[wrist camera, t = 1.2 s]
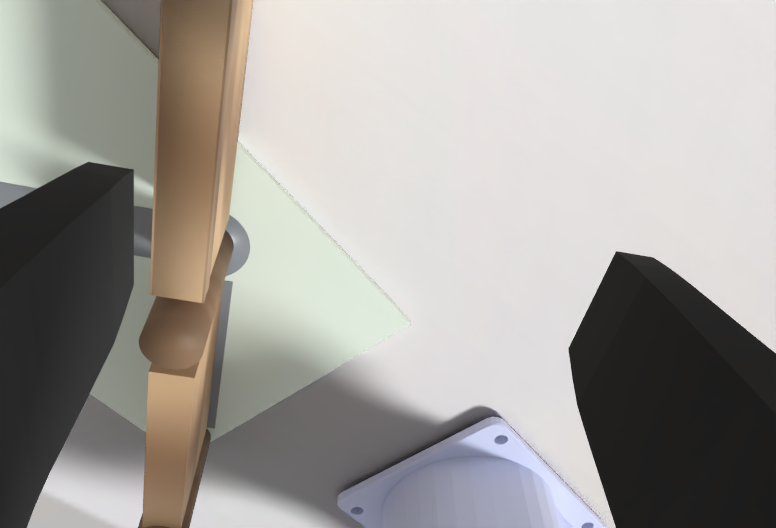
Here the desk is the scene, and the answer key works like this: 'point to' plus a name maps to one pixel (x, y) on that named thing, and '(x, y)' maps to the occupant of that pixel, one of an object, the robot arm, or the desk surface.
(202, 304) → the fence fixed
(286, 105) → the desk surface
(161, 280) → the fence wing
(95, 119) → the card
